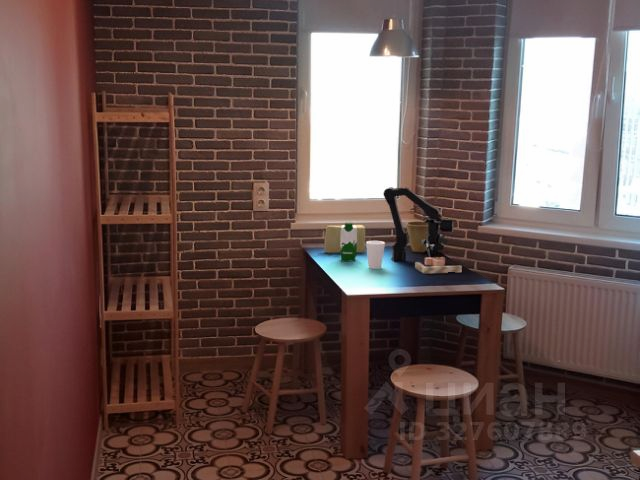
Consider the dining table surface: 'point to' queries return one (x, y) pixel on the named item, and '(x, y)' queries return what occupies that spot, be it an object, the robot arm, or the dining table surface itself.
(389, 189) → the robot arm
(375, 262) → the foam cup
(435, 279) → the dining table surface
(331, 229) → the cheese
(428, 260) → the t block
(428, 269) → the wooden l block
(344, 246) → the milk carton
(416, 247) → the plant pot
